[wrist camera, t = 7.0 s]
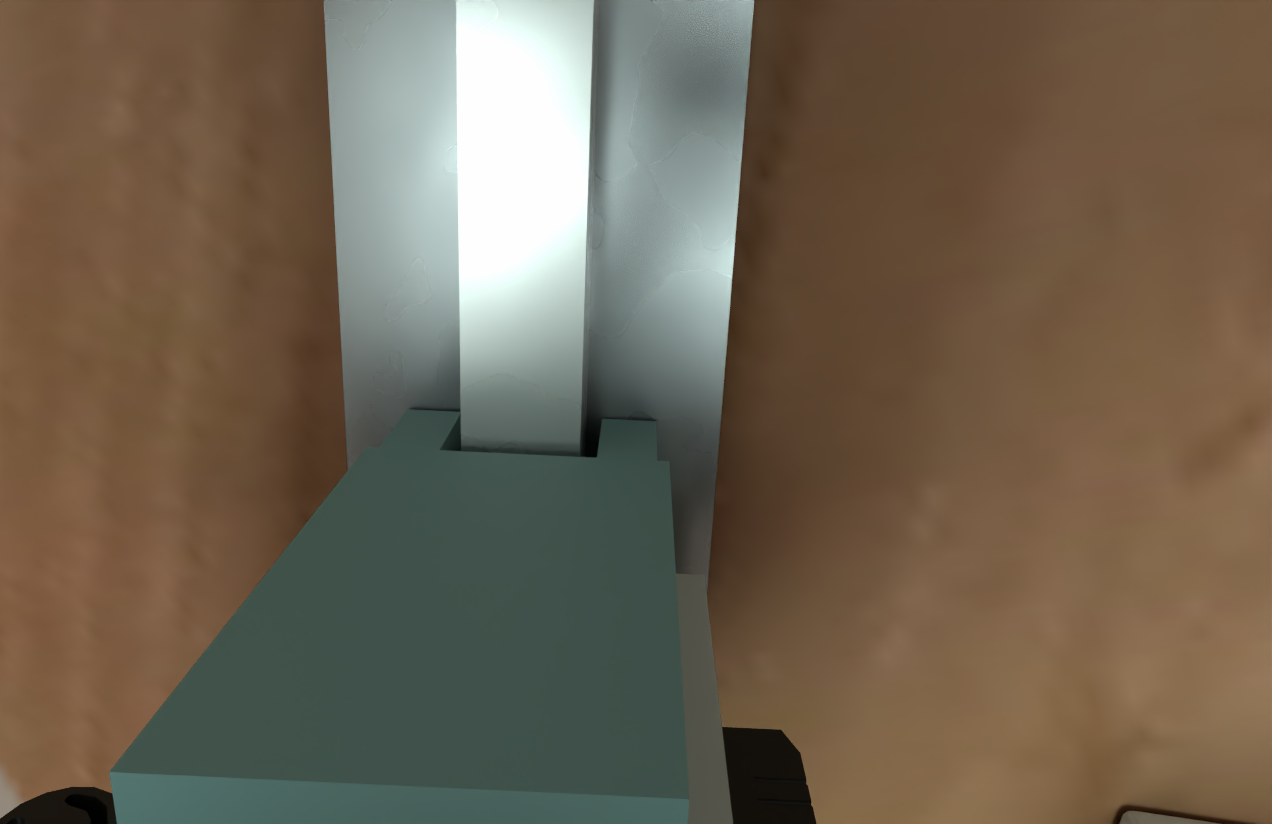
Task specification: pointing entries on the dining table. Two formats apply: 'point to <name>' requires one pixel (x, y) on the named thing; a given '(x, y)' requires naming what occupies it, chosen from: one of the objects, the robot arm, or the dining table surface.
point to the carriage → (443, 652)
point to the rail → (637, 233)
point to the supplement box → (1156, 819)
